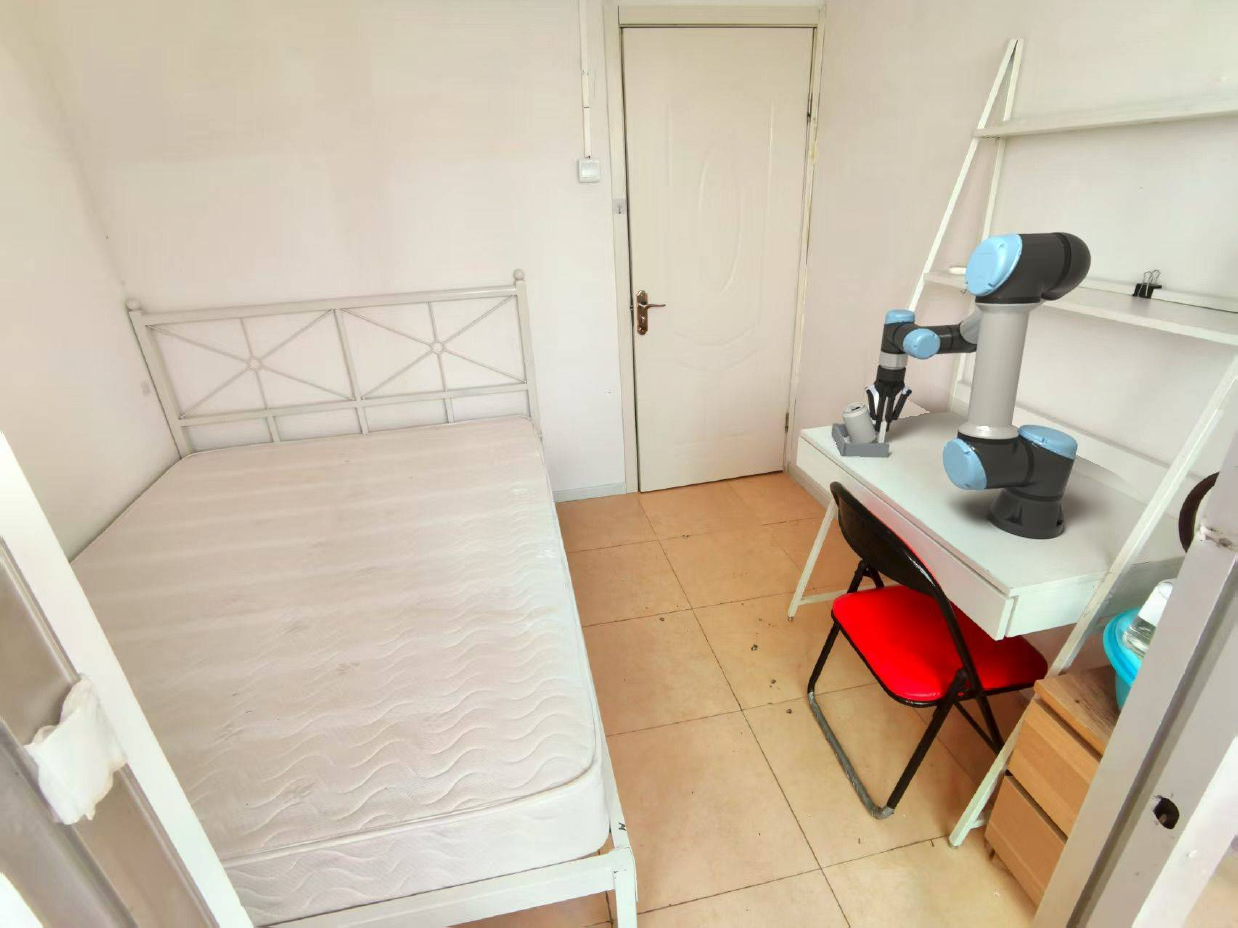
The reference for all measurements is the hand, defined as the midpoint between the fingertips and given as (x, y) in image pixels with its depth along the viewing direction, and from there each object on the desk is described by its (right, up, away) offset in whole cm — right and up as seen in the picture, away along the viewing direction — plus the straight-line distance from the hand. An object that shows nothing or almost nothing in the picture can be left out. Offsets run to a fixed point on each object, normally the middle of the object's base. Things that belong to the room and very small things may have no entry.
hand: (879, 441), depth 189 cm
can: (-4, 0, +1) cm, 4 cm away
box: (-6, -1, +1) cm, 6 cm away
